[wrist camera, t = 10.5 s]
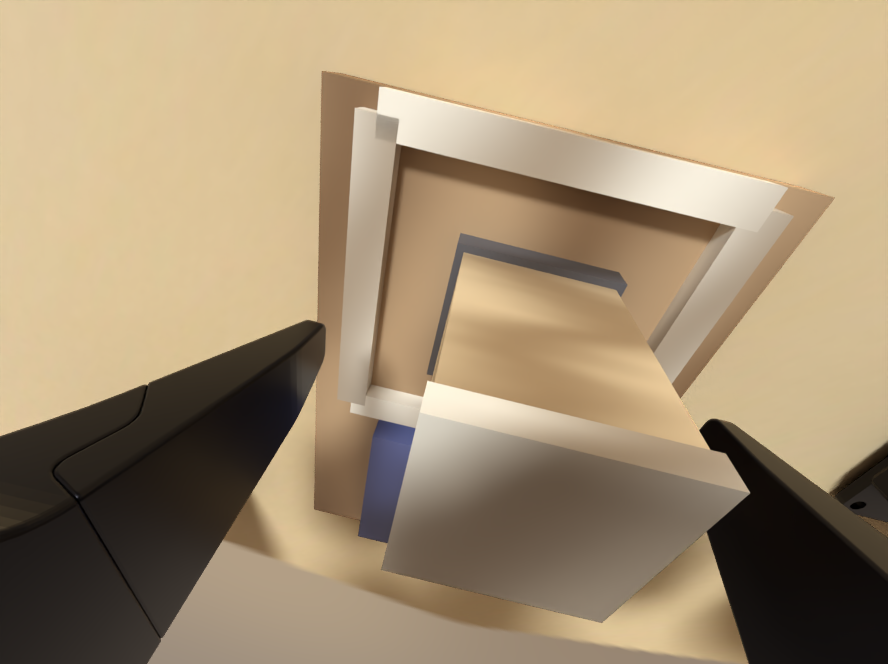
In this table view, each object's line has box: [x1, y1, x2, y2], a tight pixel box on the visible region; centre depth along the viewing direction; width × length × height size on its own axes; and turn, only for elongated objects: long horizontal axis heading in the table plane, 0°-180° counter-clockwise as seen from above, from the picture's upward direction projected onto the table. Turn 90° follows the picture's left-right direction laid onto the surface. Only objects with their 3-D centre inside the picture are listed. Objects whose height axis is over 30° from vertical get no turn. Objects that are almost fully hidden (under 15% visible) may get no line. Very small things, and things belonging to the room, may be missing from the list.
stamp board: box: [314, 71, 834, 543], centre depth 14 cm, size 12×18×2 cm, turn 168°
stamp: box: [381, 233, 750, 623], centre depth 8 cm, size 4×4×7 cm
